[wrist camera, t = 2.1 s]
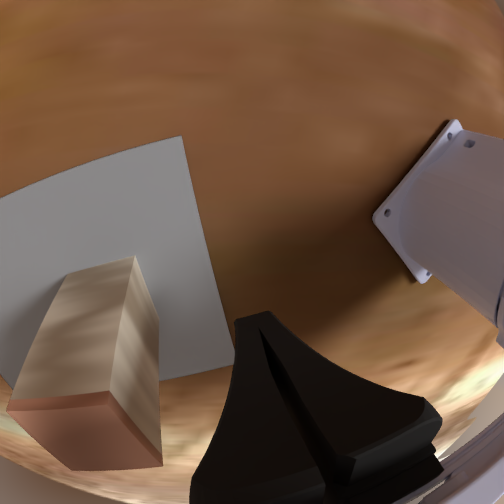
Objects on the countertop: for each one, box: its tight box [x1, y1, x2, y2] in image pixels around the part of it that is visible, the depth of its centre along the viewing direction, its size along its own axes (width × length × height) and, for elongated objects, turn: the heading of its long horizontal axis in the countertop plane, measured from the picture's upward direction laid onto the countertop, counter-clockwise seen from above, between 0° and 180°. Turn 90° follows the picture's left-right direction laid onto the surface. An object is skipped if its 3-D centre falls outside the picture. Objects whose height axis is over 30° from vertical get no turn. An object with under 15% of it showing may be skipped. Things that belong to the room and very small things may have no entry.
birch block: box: [6, 255, 163, 471], centre depth 11 cm, size 4×4×9 cm
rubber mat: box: [0, 135, 235, 390], centre depth 15 cm, size 18×14×1 cm
